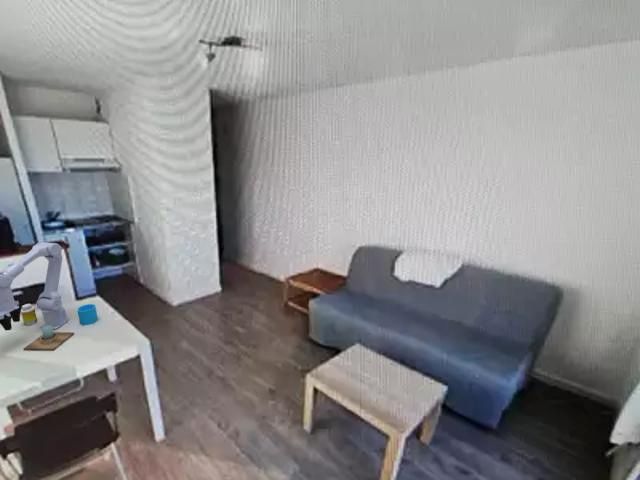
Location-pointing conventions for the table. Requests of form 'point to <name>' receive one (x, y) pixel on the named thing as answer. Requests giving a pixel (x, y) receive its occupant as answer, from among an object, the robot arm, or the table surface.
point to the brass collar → (49, 339)
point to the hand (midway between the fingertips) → (12, 325)
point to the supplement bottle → (28, 314)
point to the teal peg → (47, 332)
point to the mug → (87, 314)
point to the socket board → (52, 346)
